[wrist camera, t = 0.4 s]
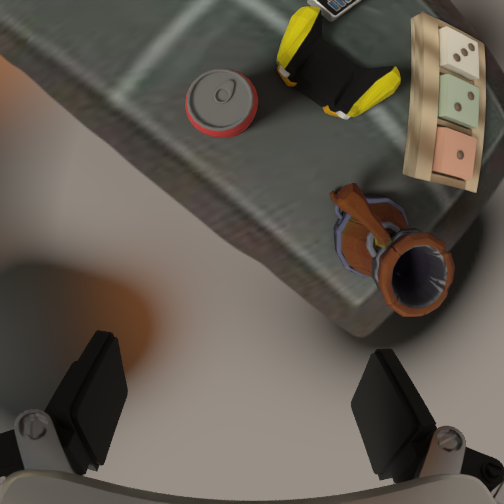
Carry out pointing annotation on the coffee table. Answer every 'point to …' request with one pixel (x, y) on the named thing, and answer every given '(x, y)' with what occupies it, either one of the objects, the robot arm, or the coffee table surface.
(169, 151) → the coffee table surface
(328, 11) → the multiport hub
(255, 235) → the coffee table surface
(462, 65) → the cream tile
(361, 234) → the mug
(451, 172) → the terracotta tile
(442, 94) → the sage tile
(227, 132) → the beer can
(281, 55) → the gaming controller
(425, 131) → the wooden dotted tile rack
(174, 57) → the coffee table surface
